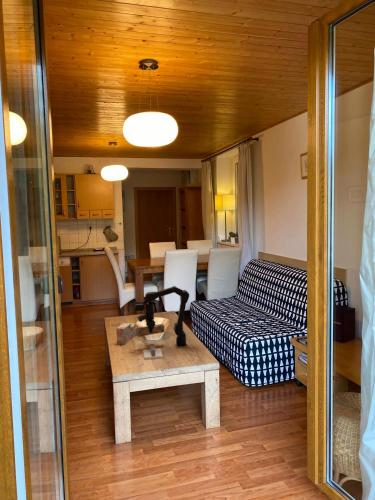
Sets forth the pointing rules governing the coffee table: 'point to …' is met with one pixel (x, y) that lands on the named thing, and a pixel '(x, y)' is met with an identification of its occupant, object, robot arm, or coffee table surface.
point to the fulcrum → (152, 353)
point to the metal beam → (145, 331)
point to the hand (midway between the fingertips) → (150, 332)
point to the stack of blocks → (125, 333)
